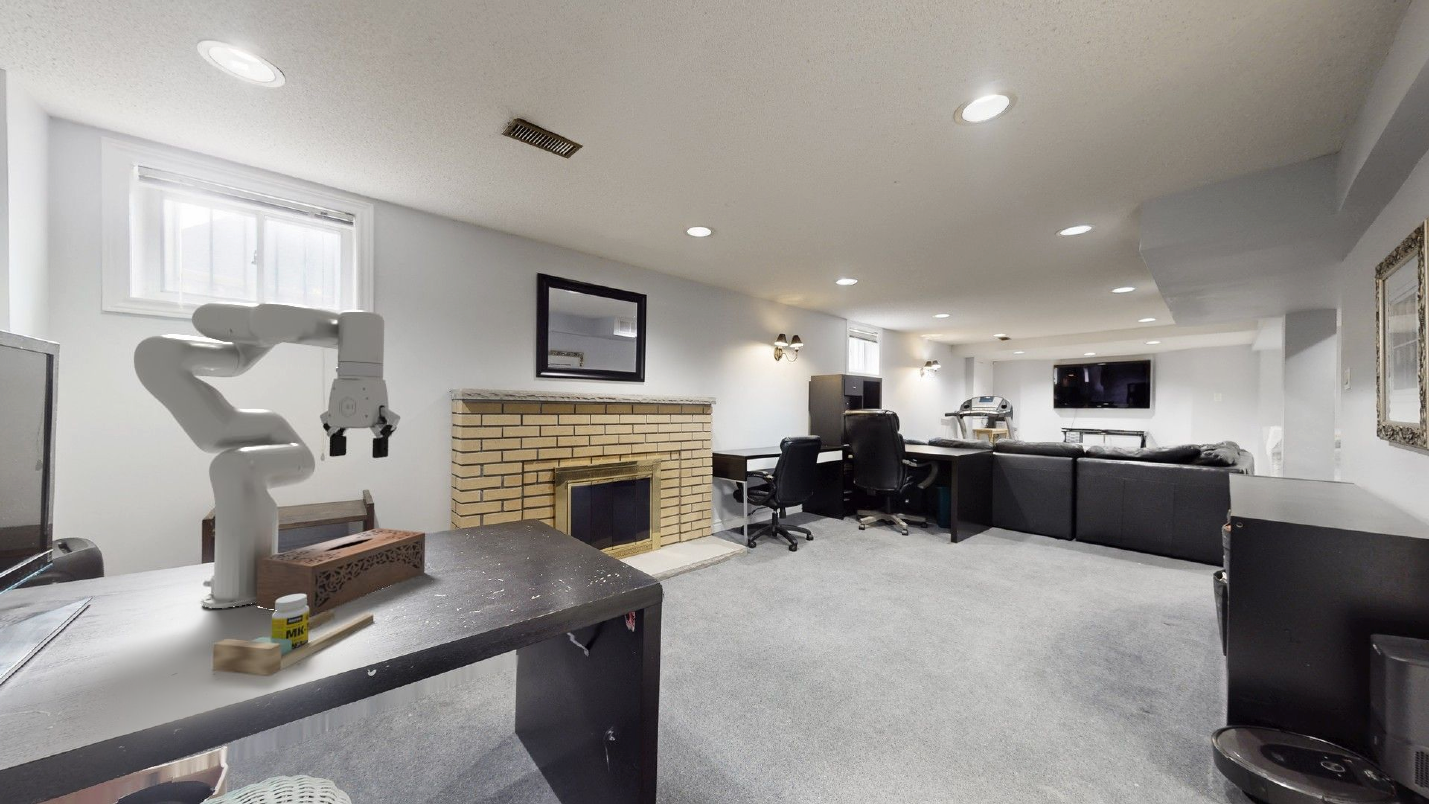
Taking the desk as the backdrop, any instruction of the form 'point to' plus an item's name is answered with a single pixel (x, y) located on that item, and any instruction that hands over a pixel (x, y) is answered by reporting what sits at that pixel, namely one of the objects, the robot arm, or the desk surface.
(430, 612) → the desk surface
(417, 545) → the tissue box cover
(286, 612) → the supplement bottle
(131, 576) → the desk surface
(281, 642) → the block
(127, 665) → the desk surface
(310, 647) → the track
